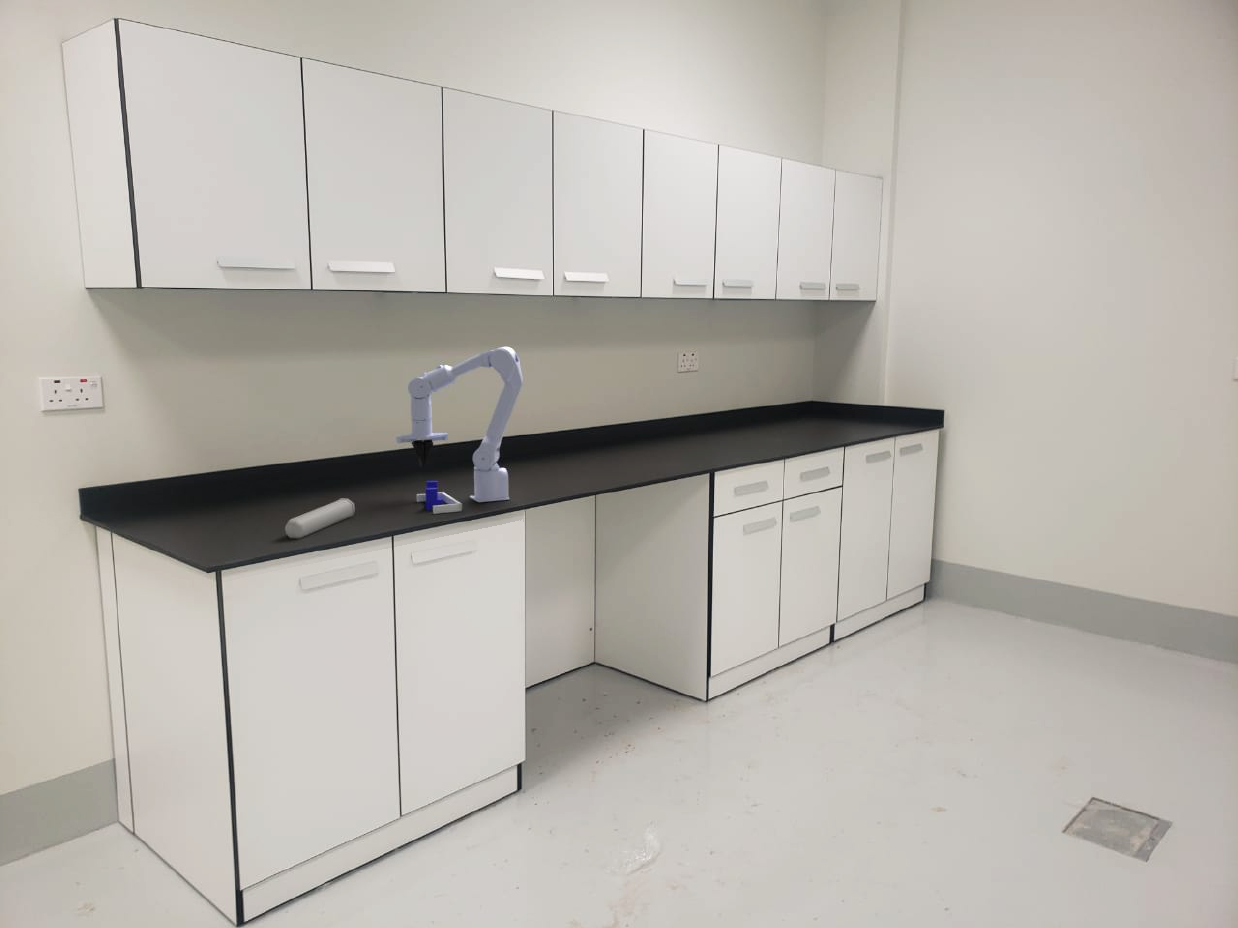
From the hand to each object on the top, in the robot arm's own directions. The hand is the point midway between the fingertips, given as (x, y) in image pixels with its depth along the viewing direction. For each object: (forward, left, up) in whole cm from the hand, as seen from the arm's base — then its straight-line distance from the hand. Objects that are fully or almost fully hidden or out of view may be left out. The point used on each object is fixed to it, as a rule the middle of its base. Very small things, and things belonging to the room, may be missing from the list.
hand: (423, 466), depth 253 cm
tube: (+33, +23, -10) cm, 41 cm away
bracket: (0, +12, -9) cm, 15 cm away
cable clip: (0, +10, -10) cm, 14 cm away
